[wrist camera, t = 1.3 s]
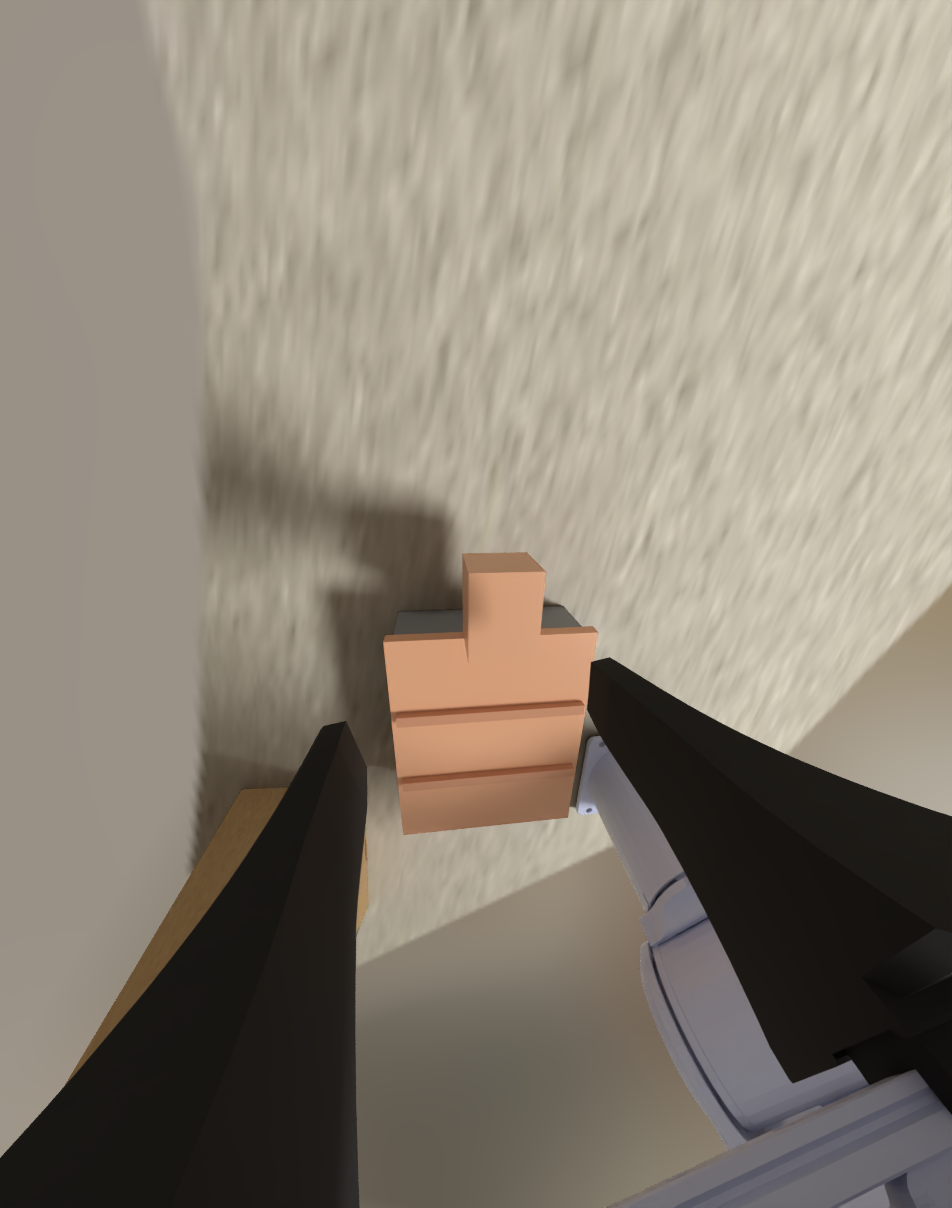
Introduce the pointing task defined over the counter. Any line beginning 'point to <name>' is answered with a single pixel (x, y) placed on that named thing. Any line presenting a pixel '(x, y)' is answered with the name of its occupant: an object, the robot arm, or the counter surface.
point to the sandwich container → (206, 897)
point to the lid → (489, 705)
